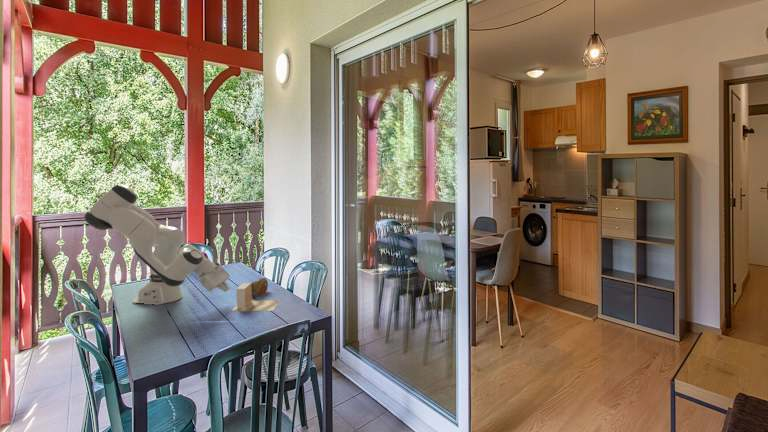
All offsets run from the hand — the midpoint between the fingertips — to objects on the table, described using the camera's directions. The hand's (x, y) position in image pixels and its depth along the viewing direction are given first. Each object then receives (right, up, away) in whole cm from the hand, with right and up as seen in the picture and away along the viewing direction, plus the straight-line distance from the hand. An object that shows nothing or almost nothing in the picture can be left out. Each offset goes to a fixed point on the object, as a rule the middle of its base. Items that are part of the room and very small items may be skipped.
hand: (227, 290), depth 186 cm
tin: (+9, -7, +20) cm, 23 cm away
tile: (+8, -8, +2) cm, 11 cm away
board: (+14, -8, +2) cm, 16 cm away
